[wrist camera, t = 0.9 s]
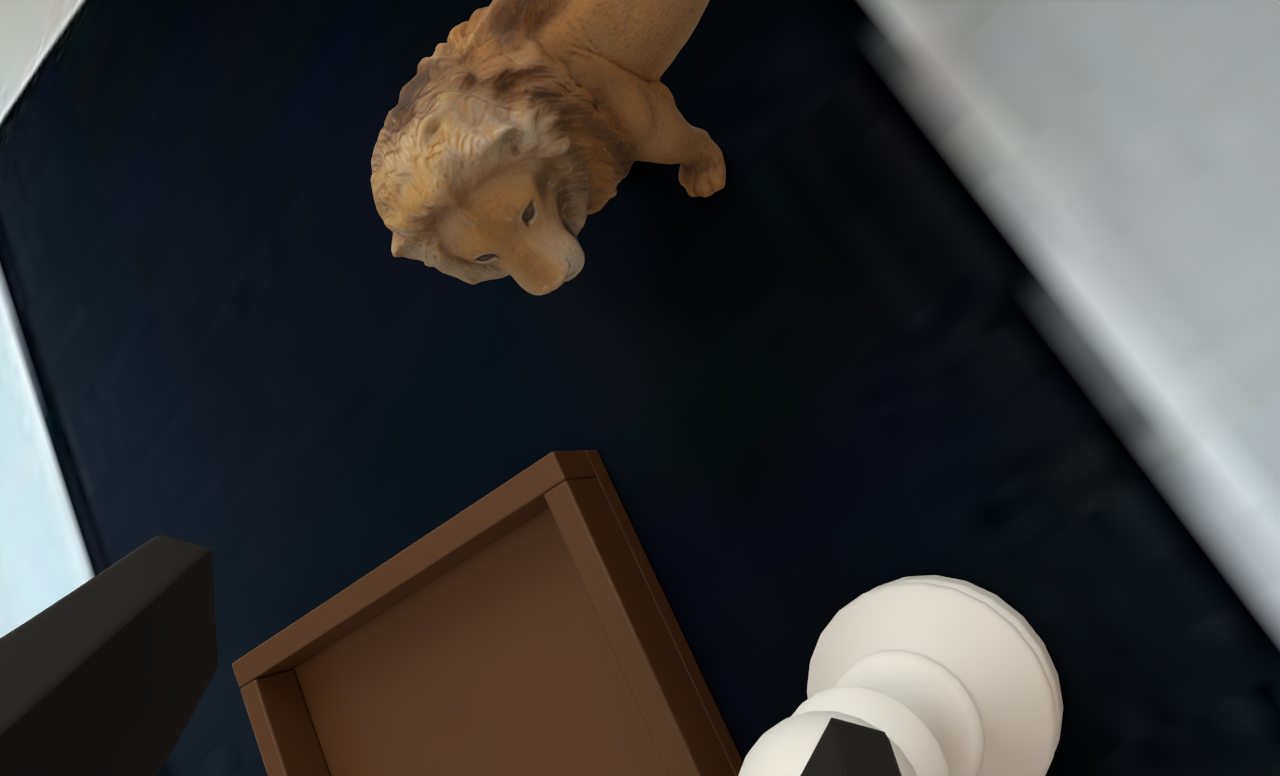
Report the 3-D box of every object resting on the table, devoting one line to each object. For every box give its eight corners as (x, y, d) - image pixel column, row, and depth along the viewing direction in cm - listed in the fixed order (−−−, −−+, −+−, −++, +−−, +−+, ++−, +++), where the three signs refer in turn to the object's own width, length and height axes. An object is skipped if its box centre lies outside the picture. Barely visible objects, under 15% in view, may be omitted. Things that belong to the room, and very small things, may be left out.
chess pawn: (1061, 581, 20) (986, 681, 12) (1068, 829, 19) (997, 1100, 11) (826, 565, 22) (635, 640, 14) (829, 785, 22) (636, 984, 14)
